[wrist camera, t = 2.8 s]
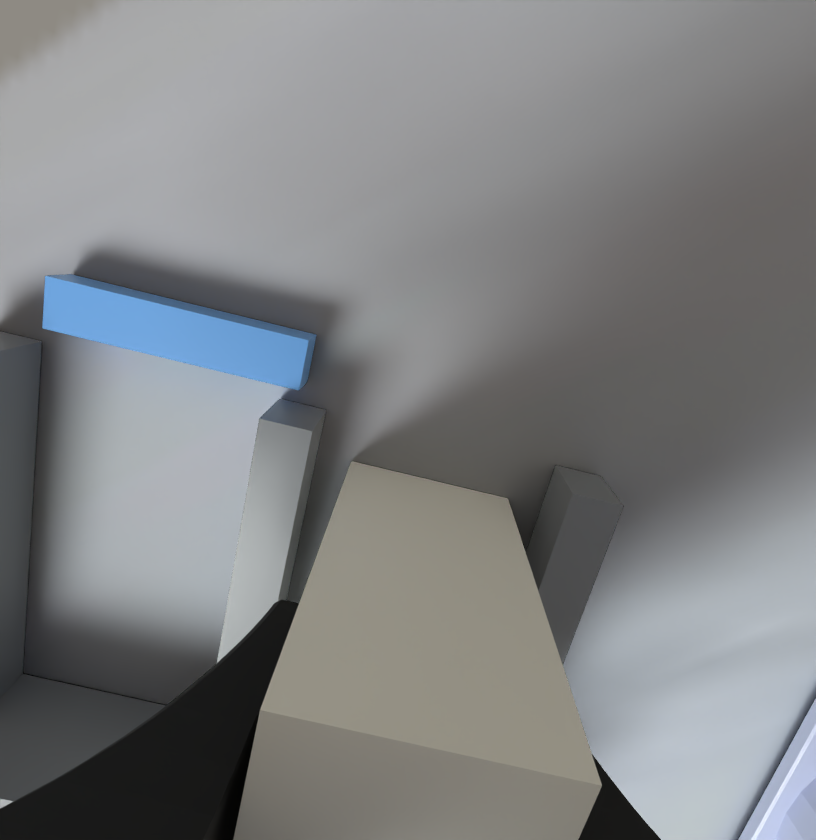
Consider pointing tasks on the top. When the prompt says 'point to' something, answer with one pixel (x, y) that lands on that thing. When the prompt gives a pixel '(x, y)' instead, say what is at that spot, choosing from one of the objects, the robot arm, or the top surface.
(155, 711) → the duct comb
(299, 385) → the blue rectangular bar
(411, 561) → the cream rectangular block
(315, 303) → the top surface
